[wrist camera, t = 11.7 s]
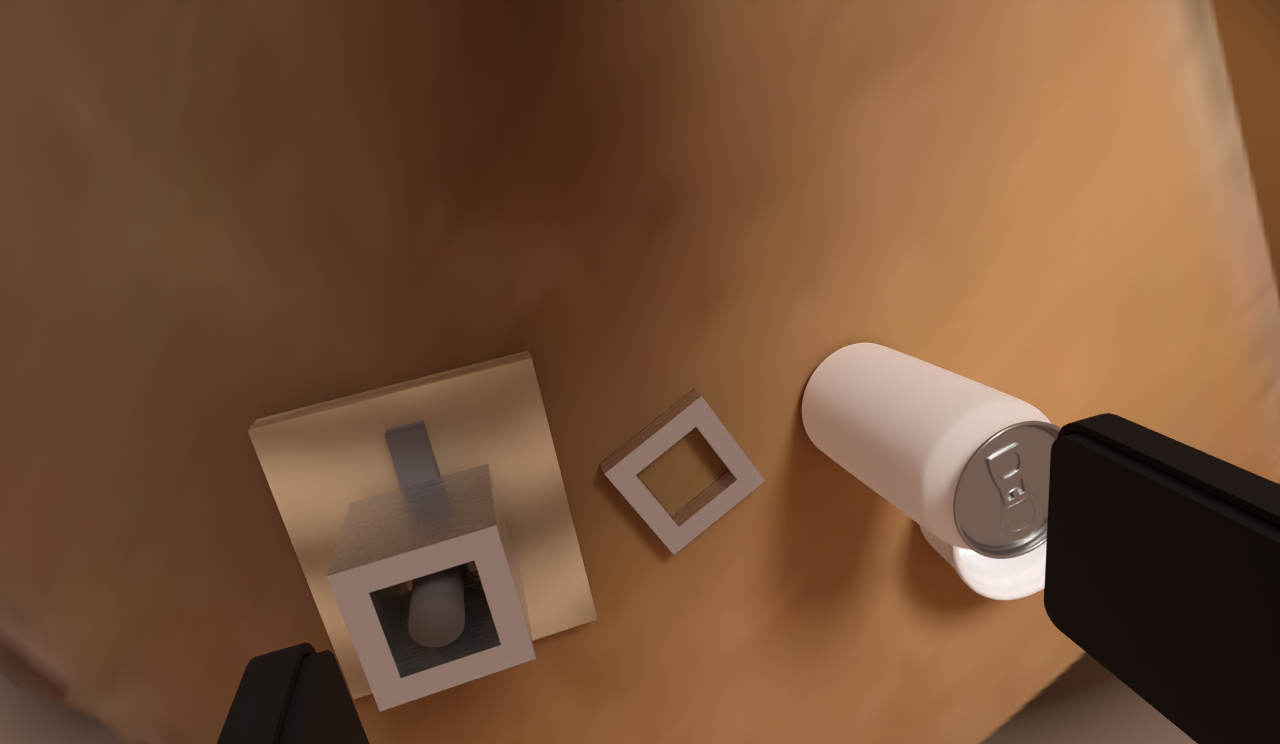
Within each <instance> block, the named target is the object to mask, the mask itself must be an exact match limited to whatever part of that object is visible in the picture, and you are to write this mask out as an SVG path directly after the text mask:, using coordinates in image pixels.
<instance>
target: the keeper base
mask: <svg viewBox="0 0 1280 744" xmlns="http://www.w3.org/2000/svg"><path fill="white" fill-rule="evenodd" d="M248 433H249V435H250V438H251V440H252V443H253V446H254V448H255V451H256V453H257V456H258V458H259V461H260V463H261V466H262V468H263V471H264V473H265V476H266V479H267V481H268V484H269V486H270V489H271V491H272V494H273V496H274V499H275V501H276V504H277V506H278V509H279V512H280V514H281V517H282V519H283V522H284V524H285V527H286V529H287V532H288V534H289V537H290V539H291V542H292V544H293V547H294V550H295V552H296V555H297V557H298V560H299V562H300V565H301V567H302V570H303V572H304V575H305V577H306V580H307V583H308V585H309V588H310V590H311V593H312V595H313V598H314V600H315V603H316V605H317V608H318V610H319V613H320V616H321V618H322V621H323V623H324V626H325V628H326V631H327V633H328V636H329V638H330V641H331V643H332V646H333V649H334V651H335V654H336V656H337V659H338V661H339V664H340V666H341V669H342V671H343V674H344V676H345V679H346V682H347V684H348V687H349V689H350V692H351V694H352V697H353V699H357V698H360V697H363V696H366V695H369V694H372V690H371V688H370V685H369V683H368V680H367V678H366V675H365V673H364V670H363V667H362V665H361V662H360V660H359V657H358V655H357V652H356V650H355V647H354V644H353V642H352V639H351V637H350V634H349V632H348V629H347V627H346V624H345V622H344V619H343V616H342V614H341V611H340V609H339V606H338V604H337V601H336V599H335V596H334V593H333V591H332V588H331V586H330V583H329V581H328V578H327V574H328V571H329V568H330V565H331V562H332V558H333V555H334V552H335V549H336V546H337V542H338V539H339V536H340V533H341V529H342V526H343V523H344V520H345V517H346V513H347V510H348V507H349V504H350V503H352V502H355V501H359V500H362V499H366V498H369V497H373V496H376V495H380V494H383V493H387V492H390V491H394V490H397V489H401V488H404V487H408V486H411V485H415V484H418V483H422V482H425V481H429V480H432V479H436V478H439V477H443V476H446V475H450V474H453V473H457V472H460V471H464V470H467V469H471V468H474V467H478V466H481V465H485V464H489V467H490V471H491V474H492V477H493V481H494V484H495V488H496V491H497V494H498V498H499V501H500V505H501V508H502V511H503V515H504V518H505V522H506V525H507V529H508V532H509V535H510V539H511V542H512V546H513V549H514V552H515V556H516V559H517V563H518V566H519V569H520V573H521V576H522V581H523V587H524V592H525V598H526V604H527V609H528V615H529V621H530V627H531V632H532V638H533V640H536V639H540V638H543V637H546V636H549V635H552V634H555V633H558V632H561V631H564V630H567V629H570V628H573V627H576V626H579V625H582V624H585V623H588V622H591V621H594V620H597V615H596V611H595V607H594V603H593V599H592V595H591V591H590V587H589V583H588V579H587V575H586V571H585V567H584V563H583V559H582V555H581V551H580V547H579V543H578V539H577V535H576V532H575V528H574V524H573V520H572V516H571V512H570V508H569V504H568V500H567V496H566V492H565V488H564V484H563V480H562V476H561V472H560V468H559V464H558V460H557V456H556V452H555V448H554V444H553V440H552V436H551V432H550V428H549V424H548V420H547V416H546V413H545V409H544V405H543V401H542V397H541V393H540V389H539V385H538V381H537V377H536V373H535V369H534V365H533V361H532V357H531V355H530V353H529V351H524V352H520V353H516V354H512V355H508V356H504V357H500V358H496V359H492V360H488V361H484V362H480V363H476V364H472V365H468V366H464V367H460V368H456V369H452V370H449V371H445V372H441V373H437V374H433V375H429V376H425V377H421V378H417V379H413V380H409V381H405V382H401V383H397V384H393V385H389V386H385V387H381V388H377V389H374V390H370V391H366V392H362V393H358V394H354V395H350V396H346V397H342V398H338V399H334V400H330V401H326V402H322V403H318V404H314V405H310V406H306V407H302V408H298V409H295V410H291V411H287V412H283V413H279V414H275V415H271V416H267V417H263V418H259V419H256V421H255V422H254V423H253V424H252V426H251V427H250V428H249V429H248ZM476 570H477V567H476V564H475V560H474V561H470V562H467V563H464V564H461V565H458V566H454V567H451V568H448V569H445V570H441V571H438V572H435V573H432V574H428V575H425V576H422V577H419V578H416V579H412V580H409V581H406V582H407V585H408V588H409V591H411V590H412V591H411V601H410V612H409V622H408V629H409V633H410V635H411V636H412V638H413V639H414V640H415V641H416V642H417V643H419V644H421V645H423V646H426V647H442V646H445V645H448V644H450V643H452V642H453V641H454V640H456V639H457V638H458V637H459V636H460V634H461V633H462V631H463V629H464V625H465V605H464V574H466V573H469V572H472V571H476Z"/></svg>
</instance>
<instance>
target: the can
mask: <svg viewBox="0 0 1280 744" xmlns="http://www.w3.org/2000/svg"><path fill="white" fill-rule="evenodd" d="M802 419H803V424H804V428H805V430H806V433H807V435H808V437H809V438H810V440H811V441H812V442H813V444H814V445H815V446H816V447H817V448H818V449H819V450H821V451H822V452H823V453H824V454H826V455H827V456H828V457H830V458H831V459H832V460H834V461H835V462H836V463H837V464H839V465H840V466H841V467H843V468H844V469H845V470H847V471H848V472H849V473H851V474H852V475H853V476H855V477H856V478H857V479H859V480H860V481H861V482H863V483H864V484H865V485H867V486H868V487H869V488H871V489H872V490H874V491H875V492H876V493H878V494H879V495H880V496H882V497H883V498H884V499H886V500H887V501H888V502H890V503H891V504H892V505H894V506H895V507H896V508H898V509H899V510H901V511H902V512H903V513H905V514H906V515H907V516H909V517H910V518H911V519H913V520H914V521H915V522H917V523H918V524H920V525H921V526H922V527H924V528H925V529H926V530H928V531H929V532H931V533H932V534H934V535H935V536H937V537H938V538H939V539H941V540H943V541H945V542H947V543H948V544H951V545H953V546H956V547H959V548H964V549H970V550H973V551H975V552H976V553H978V554H980V555H983V556H985V557H989V558H994V559H1008V558H1014V557H1018V556H1021V555H1024V554H1026V553H1029V552H1031V551H1033V550H1034V549H1036V548H1038V547H1039V546H1041V545H1042V544H1044V543H1045V542H1046V541H1047V521H1048V499H1049V477H1050V455H1051V447H1052V444H1053V442H1054V441H1055V440H1056V439H1057V437H1058V433H1059V431H1060V430H1061V428H1059V427H1057V426H1055V425H1053V424H1052V423H1051V422H1050V421H1049V420H1048V418H1047V417H1046V416H1045V415H1044V414H1043V413H1042V412H1041V411H1039V410H1038V409H1037V408H1035V407H1034V406H1032V405H1030V404H1028V403H1026V402H1024V401H1022V400H1020V399H1018V398H1015V397H1013V396H1010V395H1008V394H1005V393H1003V392H1001V391H998V390H996V389H993V388H991V387H988V386H986V385H983V384H981V383H978V382H975V381H973V380H970V379H968V378H965V377H963V376H960V375H958V374H955V373H953V372H950V371H948V370H945V369H942V368H940V367H937V366H935V365H932V364H930V363H927V362H924V361H922V360H919V359H917V358H914V357H912V356H909V355H906V354H904V353H901V352H899V351H896V350H893V349H891V348H888V347H885V346H882V345H878V344H874V343H857V344H852V345H849V346H846V347H843V348H841V349H839V350H837V351H836V352H834V353H832V354H831V355H830V356H828V357H827V358H826V359H825V360H824V361H823V362H822V363H821V364H820V365H819V366H818V367H817V369H816V370H815V371H814V373H813V374H812V376H811V378H810V380H809V382H808V384H807V386H806V389H805V392H804V396H803V401H802Z"/></svg>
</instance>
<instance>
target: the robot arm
mask: <svg viewBox="0 0 1280 744" xmlns="http://www.w3.org/2000/svg"><path fill="white" fill-rule="evenodd" d="M1044 605H1045V609H1046V612H1047V614H1048V616H1049V618H1050V620H1051V621H1052V622H1053V624H1054V625H1055V626H1056V627H1057V628H1058V629H1059V630H1060V631H1061V632H1062V633H1064V634H1065V635H1066V636H1067V637H1069V638H1070V639H1071V640H1072V641H1073V642H1075V643H1076V644H1077V645H1078V646H1080V647H1081V648H1082V649H1083V650H1084V651H1086V652H1087V653H1088V654H1089V655H1091V656H1092V657H1093V658H1094V659H1096V660H1097V661H1098V662H1099V663H1100V664H1102V665H1103V666H1104V667H1105V668H1106V669H1108V670H1109V671H1110V672H1111V673H1112V674H1114V675H1115V676H1116V677H1117V678H1119V679H1120V680H1121V681H1122V682H1123V683H1125V684H1126V685H1127V686H1128V687H1130V688H1131V689H1132V690H1133V691H1134V692H1136V693H1137V694H1138V695H1139V696H1141V697H1142V698H1143V699H1144V700H1145V701H1147V702H1148V703H1149V704H1150V705H1152V706H1153V707H1154V708H1155V709H1156V710H1158V711H1159V712H1160V713H1161V714H1162V715H1164V716H1165V717H1166V718H1167V719H1169V720H1170V721H1171V722H1172V723H1173V724H1175V725H1176V726H1177V727H1178V728H1180V729H1181V730H1182V731H1183V732H1184V733H1186V734H1187V735H1188V736H1189V737H1190V738H1192V739H1193V740H1194V741H1195V742H1196V743H1198V744H1280V485H1279V484H1277V483H1275V482H1272V481H1270V480H1268V479H1265V478H1263V477H1261V476H1258V475H1256V474H1254V473H1251V472H1249V471H1246V470H1244V469H1242V468H1239V467H1237V466H1235V465H1232V464H1230V463H1228V462H1225V461H1223V460H1221V459H1218V458H1216V457H1214V456H1211V455H1209V454H1207V453H1204V452H1202V451H1200V450H1197V449H1195V448H1193V447H1190V446H1188V445H1186V444H1183V443H1181V442H1178V441H1176V440H1174V439H1171V438H1169V437H1167V436H1164V435H1162V434H1160V433H1157V432H1155V431H1153V430H1150V429H1148V428H1146V427H1143V426H1141V425H1139V424H1136V423H1134V422H1132V421H1129V420H1127V419H1125V418H1122V417H1120V416H1118V415H1114V414H1110V413H1107V414H1100V415H1097V416H1093V417H1090V418H1086V419H1083V420H1079V421H1076V422H1072V423H1069V424H1067V425H1065V426H1063V427H1062V428H1061V430H1060V431H1059V433H1058V437H1057V439H1056V440H1055V441H1054V442H1053V444H1052V447H1051V455H1050V477H1049V499H1048V521H1047V543H1046V565H1045V587H1044ZM217 744H369V742H368V739H367V737H366V734H365V732H364V729H363V727H362V724H361V722H360V719H359V716H358V714H357V711H356V709H355V706H354V704H353V701H352V699H351V696H350V694H349V691H348V689H347V686H346V684H345V681H344V679H343V676H342V674H341V671H340V669H339V666H338V664H337V661H336V659H335V657H334V655H333V654H332V652H331V651H328V650H326V651H323V652H319V653H316V651H315V649H314V648H313V647H312V646H311V645H310V644H309V643H302V644H299V645H296V646H292V647H289V648H285V649H282V650H278V651H275V652H271V653H268V654H264V655H261V656H257V657H254V658H253V659H251V660H250V662H249V663H248V665H247V667H246V669H245V672H244V674H243V677H242V680H241V682H240V685H239V687H238V690H237V693H236V695H235V698H234V700H233V703H232V706H231V708H230V711H229V713H228V716H227V719H226V721H225V724H224V726H223V729H222V731H221V734H220V737H219V739H218V742H217Z"/></svg>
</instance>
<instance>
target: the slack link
mask: <svg viewBox="0 0 1280 744" xmlns="http://www.w3.org/2000/svg"><path fill="white" fill-rule="evenodd" d="M694 428H696V429H697V430H698V431H699V433H700V434H701V435H702V437H703V438H704V439H705V441H706V442H707V443H708V444H709V446H710V447H711V448H712V450H713V451H714V452H715V454H716V455H717V456H718V457H719V459H720V460H721V461H722V463H723V464H724V465H725V467H726V468H727V469H728V470H729V471H728V472H726V473H725V474H724V475H723V476H721V477H720V478H719V479H718V480H717V481H715V482H714V483H713V484H712V485H710V486H709V487H708V488H707V489H705V490H704V491H703V492H702V493H700V494H699V495H698V496H697V497H696V498H694V499H693V500H692V501H691V502H689V503H688V504H687V505H686V506H684V507H683V508H682V509H681V510H680V511H678V512H677V513H676V514H675V515H673V516H671V515H670V514H669V512H668V511H667V510H666V509H665V508H664V506H663V505H662V504H661V503H660V502H659V500H658V499H657V498H656V497H655V496H654V494H653V493H652V492H651V491H650V490H649V488H648V487H647V486H646V485H645V484H644V483H643V481H642V480H641V479H640V478H639V477H638V475H637V474H638V473H639V472H640V471H642V470H643V469H644V468H645V467H647V466H648V465H649V464H650V463H651V462H653V461H654V460H655V459H656V458H658V457H659V456H660V455H661V454H663V453H664V452H665V451H666V450H668V449H669V448H670V447H671V446H673V445H674V444H675V443H676V442H678V441H679V440H680V439H681V438H683V437H684V436H685V435H686V434H687V433H689V432H690V431H691V430H692V429H694ZM600 467H601V468H602V470H603V472H604V474H605V475H606V477H607V478H608V479H609V480H610V481H611V482H612V484H613V485H614V486H615V487H616V488H617V489H618V490H619V492H620V493H621V494H622V495H623V496H624V497H625V499H626V500H627V501H628V502H629V503H630V504H631V506H632V507H633V508H634V509H635V510H636V511H637V513H638V514H639V515H640V516H641V517H642V518H643V520H644V521H645V522H646V523H647V524H648V525H649V527H650V528H651V529H652V530H653V531H654V532H655V533H656V535H657V536H658V537H659V538H660V539H661V540H662V542H663V543H664V544H665V545H666V546H667V547H668V549H669V550H670V551H671V552H672V553H673V554H674V555H675V554H676V553H677V552H678V551H680V550H681V549H682V548H683V547H685V546H686V545H687V544H688V543H689V542H691V541H692V540H693V539H694V538H696V537H697V536H698V535H699V534H701V533H702V532H703V531H704V530H705V529H707V528H708V527H709V526H710V525H712V524H713V523H714V522H715V521H717V520H718V519H719V518H720V517H721V516H723V515H724V514H725V513H726V512H728V511H729V510H730V509H731V508H733V507H734V506H735V505H736V504H737V503H739V502H740V501H741V500H742V499H744V498H745V497H746V496H747V495H749V494H750V493H751V492H752V491H753V490H755V489H756V488H757V487H758V486H760V485H761V484H762V483H763V482H765V480H764V479H763V477H762V476H761V475H760V473H759V472H758V471H757V469H756V468H755V467H754V465H753V464H752V463H751V461H750V460H749V459H748V457H747V456H746V455H745V453H744V452H743V451H742V449H741V448H740V447H739V445H738V444H737V443H736V441H735V440H734V439H733V437H732V436H731V435H730V433H729V432H728V431H727V429H726V428H725V427H724V425H723V424H722V423H721V421H720V420H719V419H718V417H717V416H716V415H715V413H714V412H713V411H712V409H711V408H710V407H709V405H708V404H707V403H706V401H705V400H704V399H703V397H702V396H701V395H700V394H699V393H698V392H696V391H695V390H694V389H693V390H692V391H691V392H689V393H688V394H687V395H686V396H684V397H683V398H682V399H681V400H679V401H678V402H677V403H676V404H674V405H673V406H672V407H671V408H669V409H668V410H667V411H666V412H664V413H663V414H662V415H661V416H659V417H658V418H657V419H656V420H655V421H653V422H652V423H651V424H650V425H648V426H647V427H646V428H645V429H643V430H642V431H641V432H640V433H638V434H637V435H636V436H635V437H633V438H632V439H631V440H630V441H628V442H627V443H626V444H625V445H623V446H622V447H621V448H620V449H618V450H617V451H616V452H615V453H613V454H612V455H611V456H610V457H608V458H607V459H606V460H605V461H603V462H602V463H601V464H600Z"/></svg>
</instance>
